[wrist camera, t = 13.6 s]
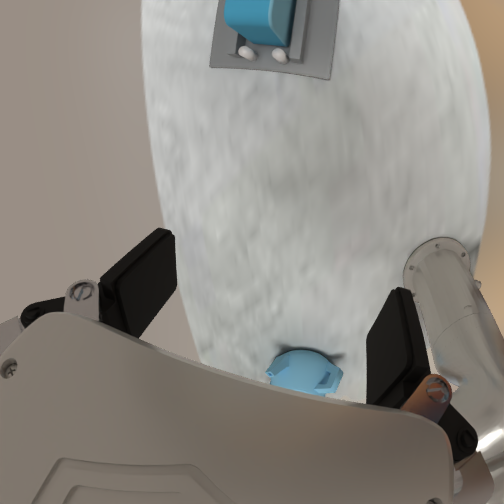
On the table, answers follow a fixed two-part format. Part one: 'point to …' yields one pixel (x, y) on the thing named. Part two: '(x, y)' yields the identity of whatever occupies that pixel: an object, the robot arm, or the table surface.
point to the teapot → (305, 373)
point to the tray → (279, 57)
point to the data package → (261, 20)
